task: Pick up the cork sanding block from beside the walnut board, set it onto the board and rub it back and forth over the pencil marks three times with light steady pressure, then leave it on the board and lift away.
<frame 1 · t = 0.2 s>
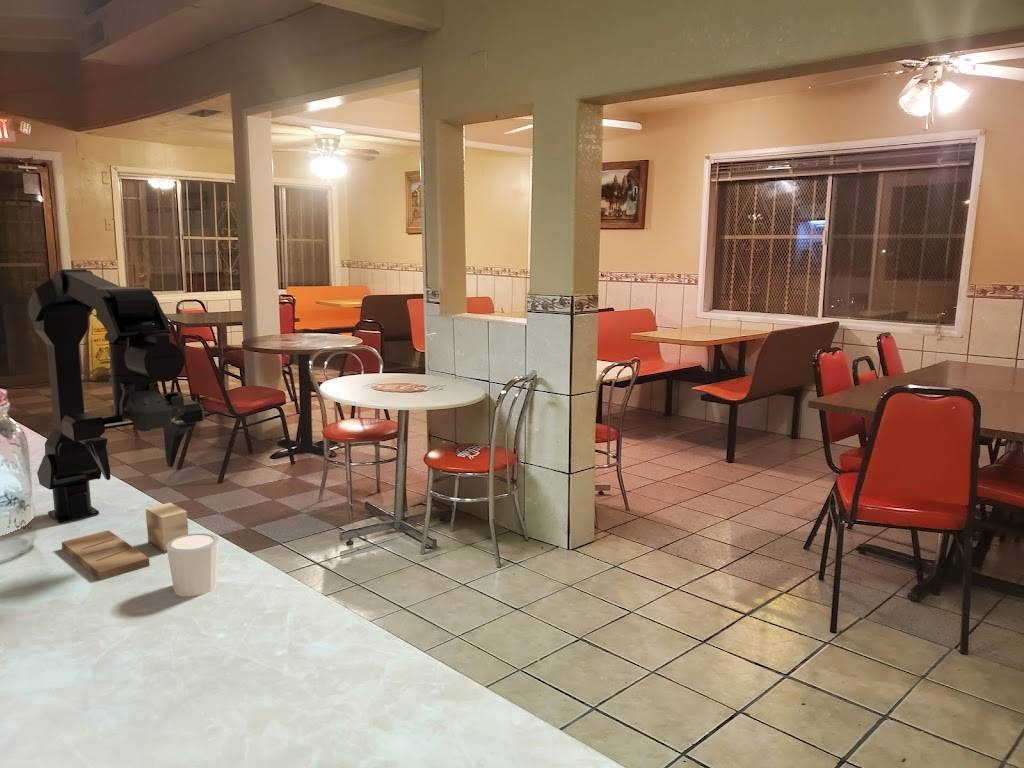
hand: (139, 472, 115), 14 cm above the table, tool pointing down, fingers open, 9 cm apart
sanding block: (168, 544, 122), on the table
board: (104, 557, 117), on the table
white cup: (195, 588, 107), on the table
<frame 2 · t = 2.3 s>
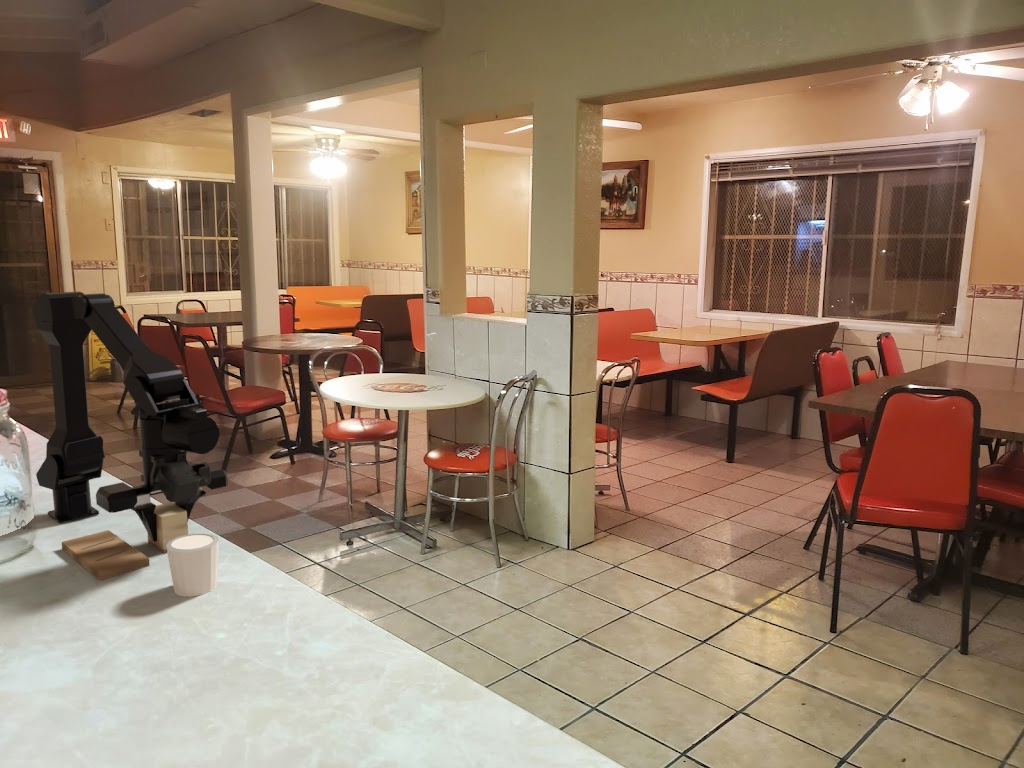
hand: (168, 537, 122), 1 cm above the table, tool pointing down, fingers closed on sanding block, 4 cm apart
sanding block: (168, 544, 122), on the table, touching gripper
everything else where it was.
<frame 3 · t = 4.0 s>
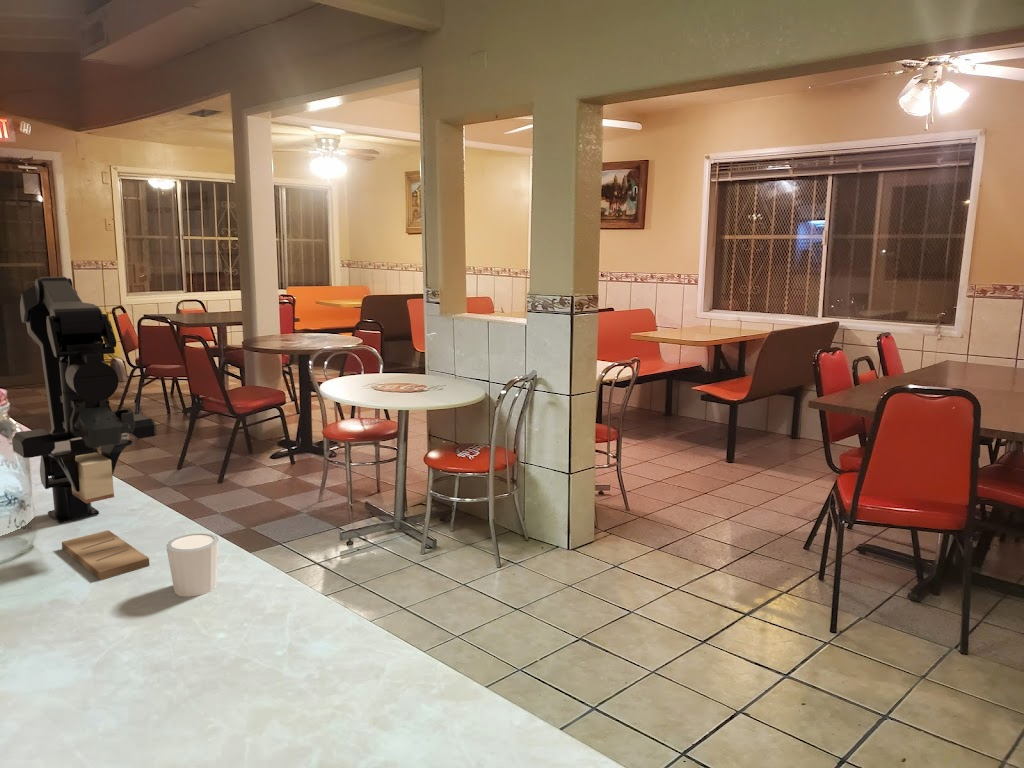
hand: (92, 487, 117), 11 cm above the table, tool pointing down, fingers closed on sanding block, 4 cm apart
sanding block: (93, 495, 117), point 9 cm above the table, touching gripper
everything else where it was.
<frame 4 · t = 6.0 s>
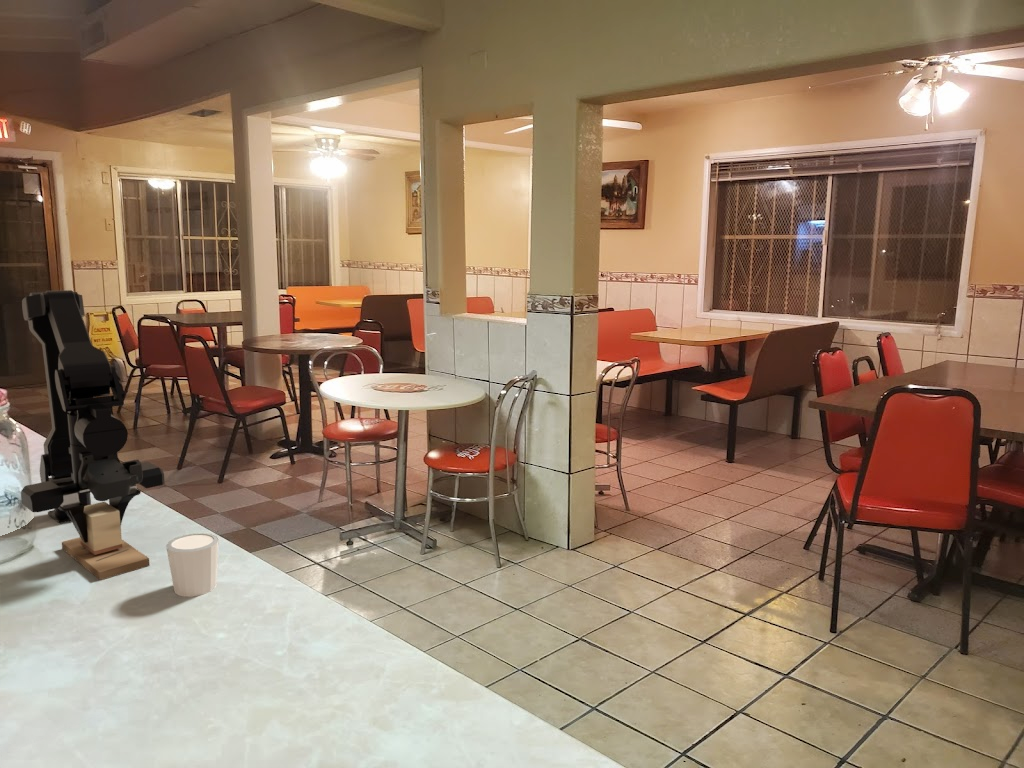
hand: (100, 538, 117), 3 cm above the table, tool pointing down, fingers closed on sanding block, 4 cm apart
sanding block: (101, 545, 117), point 2 cm above the table, touching gripper
everything else where it was.
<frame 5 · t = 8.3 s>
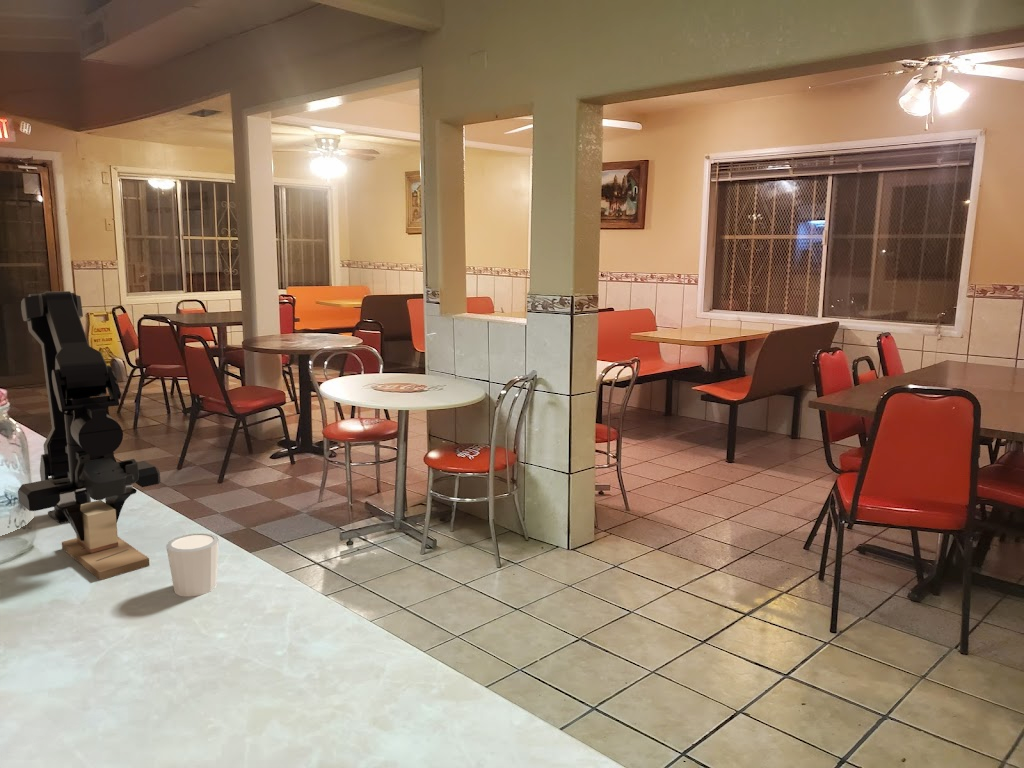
hand: (96, 536, 118), 3 cm above the table, tool pointing down, fingers closed on sanding block, 4 cm apart
sanding block: (97, 543, 118), point 1 cm above the table, touching gripper
everything else where it was.
when the fingers open (3 cm above the table, at t = 10.1 s): sanding block stays where it is, resting on board.
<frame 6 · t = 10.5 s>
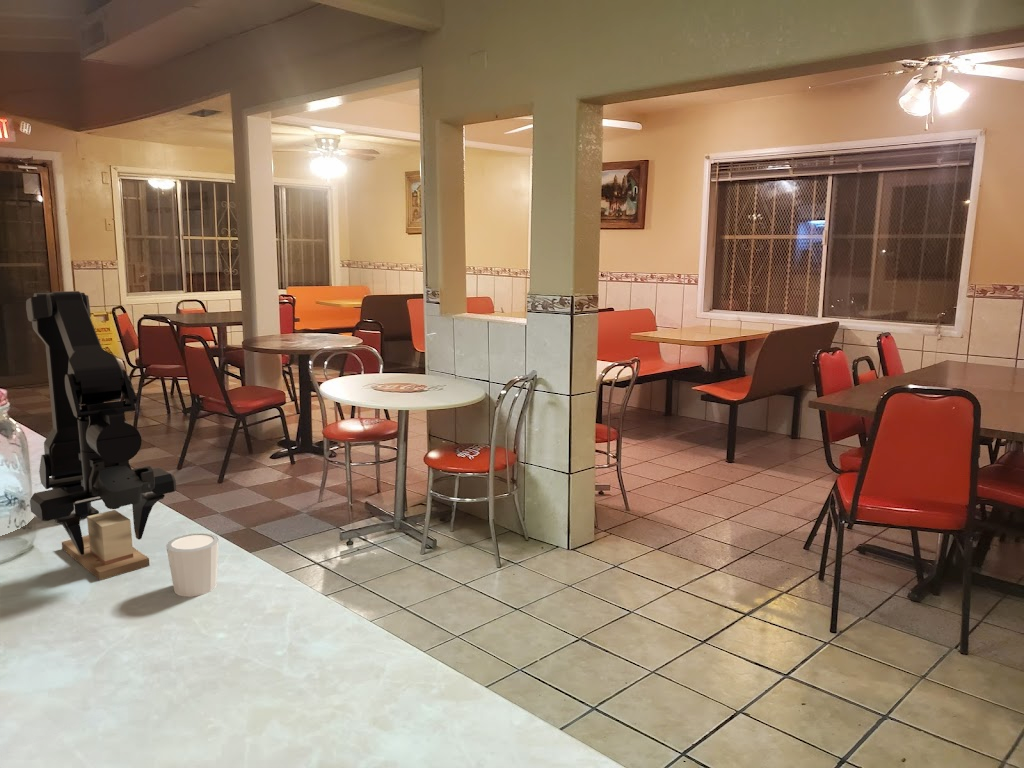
hand: (110, 546, 114), 3 cm above the table, tool pointing down, fingers open, 8 cm apart
sanding block: (111, 555, 114), point 1 cm above the table, touching board
everything else where it was.
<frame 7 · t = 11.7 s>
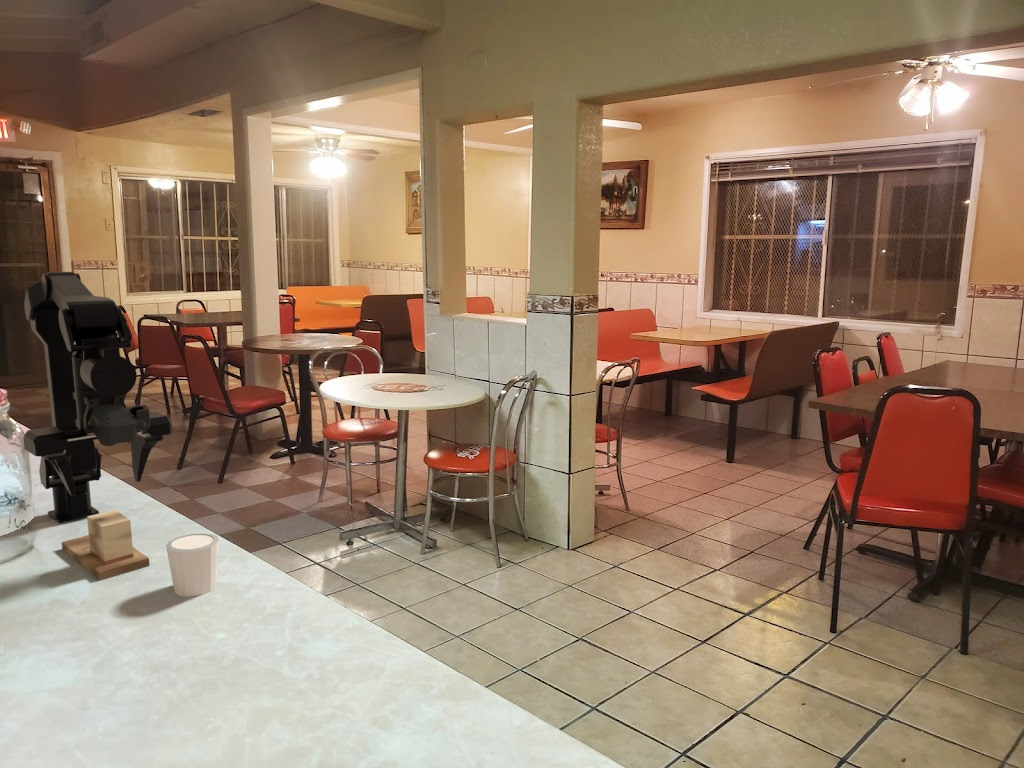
hand: (105, 488, 112), 12 cm above the table, tool pointing down, fingers open, 9 cm apart
nothing on the table moved.
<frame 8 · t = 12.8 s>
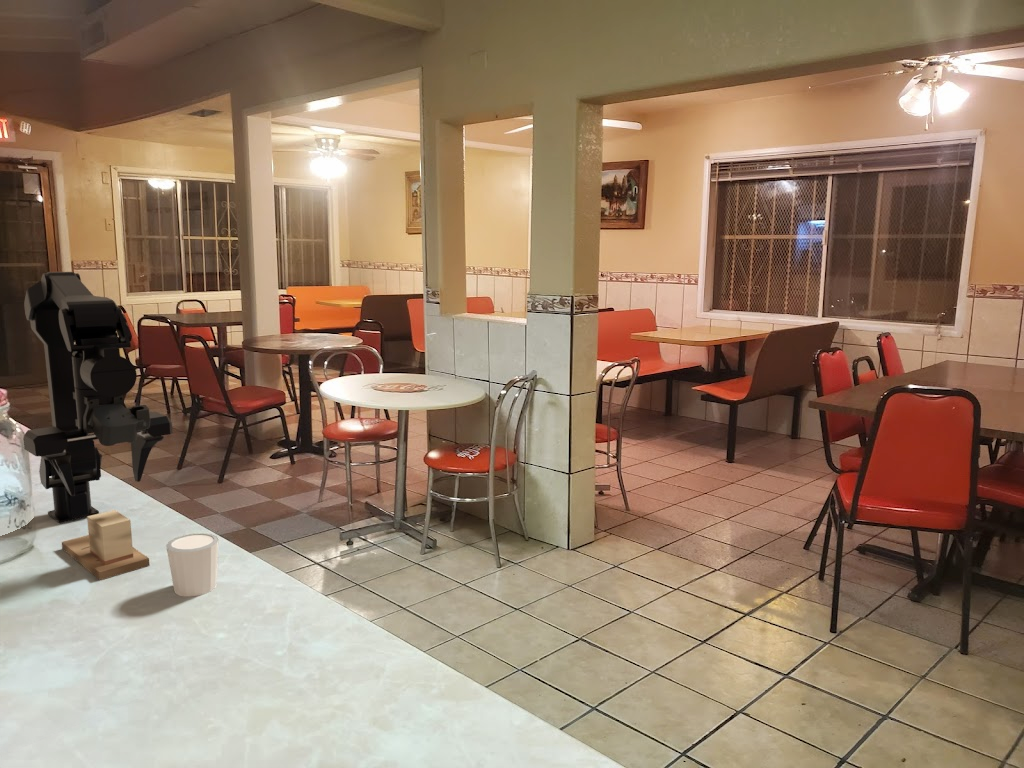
hand: (105, 487, 112), 12 cm above the table, tool pointing down, fingers open, 9 cm apart
nothing on the table moved.
at the end: sanding block inside the target area on the board (3.0 cm from its centre), point 1.2 cm above the board's base; sanding block moved 9.2 cm from its start; the gripper is holding nothing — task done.
